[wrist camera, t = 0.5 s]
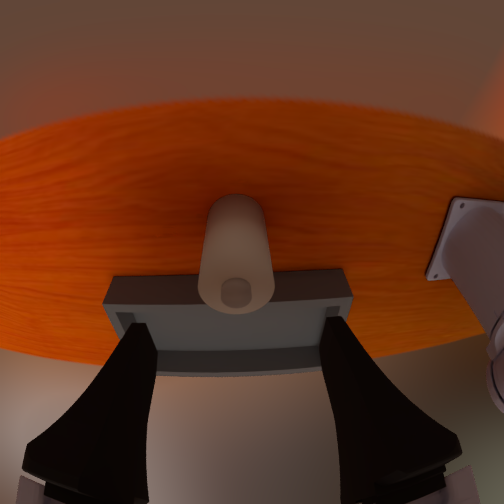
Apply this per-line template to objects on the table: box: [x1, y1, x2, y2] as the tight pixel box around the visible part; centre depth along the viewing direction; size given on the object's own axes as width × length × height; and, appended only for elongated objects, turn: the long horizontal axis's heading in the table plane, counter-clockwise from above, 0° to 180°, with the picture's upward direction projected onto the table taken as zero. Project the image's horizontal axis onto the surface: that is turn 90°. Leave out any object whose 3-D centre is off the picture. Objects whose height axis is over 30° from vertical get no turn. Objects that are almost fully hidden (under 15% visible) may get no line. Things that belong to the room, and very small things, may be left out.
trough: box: [102, 269, 353, 377], centre depth 23 cm, size 18×10×3 cm, turn 91°
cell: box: [198, 194, 275, 314], centre depth 16 cm, size 4×4×7 cm
